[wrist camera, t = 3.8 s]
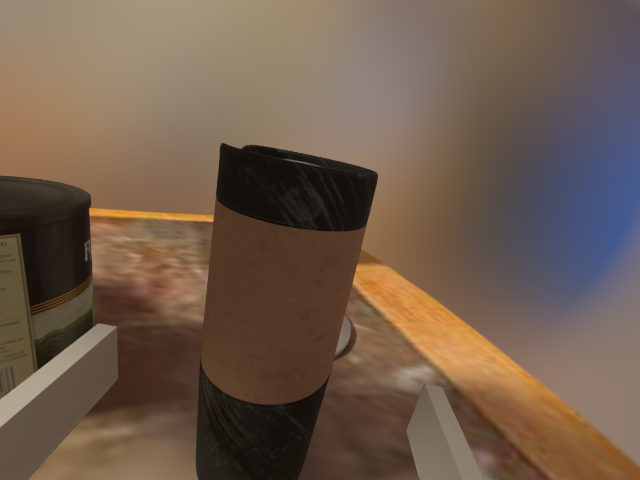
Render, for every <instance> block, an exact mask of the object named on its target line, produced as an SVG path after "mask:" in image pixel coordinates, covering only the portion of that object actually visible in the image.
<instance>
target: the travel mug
mask: <svg viewBox="0 0 640 480" xmlns="http://www.w3.org/2000/svg"><path fill="white" fill-rule="evenodd" d="M377 179H378V174H377V173H376V172H375V171H372V170H369V169H366V168H363V167H359V166H356V165H352V164H348V163H343V162H339V161H335V160H331V159H326V158H322V157H317V156H312V155H307V154H303V153H298V152H293V151H287V150H282V149H276V148H271V147H265V146H258V145H246V146H244V147H243V148H242V149H239V148H236V147H232V146H229V145H227V144H224V143H222V144H221V146H220V160H219V171H218V181H217V192H216V202H215V213H214V222H213V232H212V243H211V253H210V263H209V273H208V283H207V294H206V304H205V314H204V324H203V335H202V345H201V358H200V376H199V399H198V422H197V444H196V469H197V475H198V479H199V480H297V479H298V477H299V475H300V472H301V469H302V466H303V463H304V460H305V456H306V453H307V450H308V447H309V443H310V440H311V436H312V433H313V430H314V426H315V423H316V420H317V416H318V413H319V409H320V406H321V403H322V399H323V396H324V393H325V389H326V386H327V383H328V379H329V376H330V372H331V369H332V365H333V361H334V357H335V353H336V348H337V344H338V340H339V336H340V332H341V328H342V324H343V320H344V316H345V312H346V307H347V303H348V299H349V295H350V291H351V287H352V283H353V279H354V275H355V270H356V266H357V262H358V258H359V254H360V250H361V245H362V242H363V238H364V234H365V229H366V225H367V221H368V217H369V213H370V209H371V205H372V201H373V197H374V192H375V188H376V184H377Z"/></svg>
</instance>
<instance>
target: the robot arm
mask: <svg viewBox="0 0 640 480" xmlns="http://www.w3.org/2000/svg"><path fill="white" fill-rule="evenodd" d="M117 380H118V348H117V327H116V326H110V325H105V324H100V323H98V324H97V325H96V326H94V327H93V328H92V329H91V330H89V331H88V332H87V333H85V334H84V335H83V336H82V337H80V338H79V339H78V340H76V341H75V342H74V343H73V344H71V345H70V346H69V347H67V348H66V349H65V350H64V351H62V352H61V353H60V354H58V355H57V356H56V357H55V358H53V359H52V360H51V361H49V362H48V363H47V364H46V365H44V366H43V367H42V368H40V369H39V370H38V371H37V372H35V373H34V374H33V375H31V376H30V377H29V378H28V379H26V380H25V381H24V382H22V383H21V384H20V385H19V386H17V387H16V388H15V389H13V390H12V391H11V392H9V393H8V394H7V395H6V396H4V397H3V398H2V399H0V480H28V479H29V478H30V477H31V476H32V474H33V473H34V472H35V471H36V470H37V469H38V468H39V467H40V466H41V464H42V463H43V462H44V461H45V460H46V459H47V458H48V457H49V456H50V454H51V453H52V452H53V451H54V450H55V449H56V448H57V447H58V446H59V444H60V443H61V442H62V441H63V440H64V439H65V438H66V437H67V435H68V434H69V433H70V432H71V431H72V430H73V429H74V428H75V427H76V425H77V424H78V423H79V422H80V421H81V420H82V419H83V418H84V417H85V415H86V414H87V413H88V412H89V411H90V410H91V409H92V408H93V407H94V405H95V404H96V403H97V402H98V401H99V400H100V399H101V398H102V397H103V395H104V394H105V393H106V392H107V391H108V390H109V389H110V388H111V387H112V385H113V384H114V383H115V382H116V381H117ZM406 432H407V435H408V439H409V443H410V447H411V450H412V454H413V458H414V462H415V465H416V469H417V473H418V477H419V480H485V479H484V477H483V475H482V473H481V471H480V468H479V466H478V464H477V462H476V460H475V458H474V455H473V453H472V451H471V449H470V447H469V444H468V442H467V440H466V438H465V436H464V434H463V431H462V429H461V427H460V425H459V423H458V421H457V418H456V416H455V414H454V412H453V410H452V408H451V405H450V403H449V401H448V399H447V397H446V395H445V392H444V390H443V388H442V387H441V386H436V385H430V384H424V386H423V389H422V391H421V394H420V396H419V399H418V402H417V404H416V407H415V409H414V412H413V415H412V417H411V420H410V422H409V425H408V428H407V430H406Z"/></svg>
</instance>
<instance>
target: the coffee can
mask: <svg viewBox="0 0 640 480" xmlns="http://www.w3.org/2000/svg"><path fill="white" fill-rule="evenodd" d="M90 207H91V197H90V195H89V193H87V192H86V191H84V190H82V189H80V188H77V187H74V186H71V185H67V184H63V183H59V182H53V181H47V180H41V179H32V178H23V177H12V176H0V399H2V398H3V397H4V396H6V395H7V394H8V393H9V392H11V391H12V390H13V389H15V388H16V387H17V386H19V385H20V384H21V383H22V382H24V381H25V380H26V379H28V378H29V377H30V376H31V375H33V374H34V373H35V372H37V371H38V370H39V369H40V368H42V367H43V366H44V365H46V364H47V363H48V362H49V361H51V360H52V359H53V358H55V357H56V356H57V355H58V354H60V353H61V352H62V351H64V350H65V349H66V348H67V347H69V346H70V345H71V344H73V343H74V342H75V341H76V340H78V339H79V338H80V337H82V336H83V335H84V334H85V333H87V332H88V331H89V330H91V329H92V328H93V327H94V326H95V316H94V297H93V278H92V256H91V237H90V217H89V208H90Z"/></svg>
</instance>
